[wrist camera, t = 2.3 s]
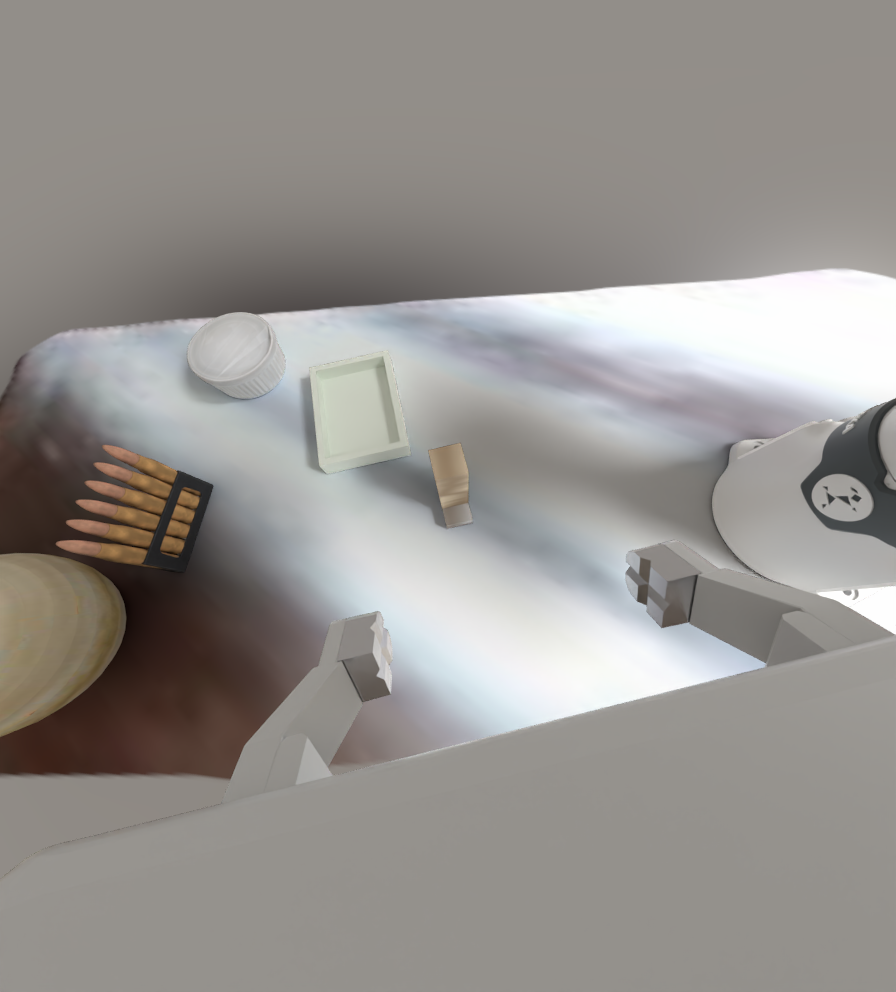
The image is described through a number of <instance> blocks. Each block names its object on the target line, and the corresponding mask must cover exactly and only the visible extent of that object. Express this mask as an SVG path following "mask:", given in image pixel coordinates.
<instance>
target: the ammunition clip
mask: <svg viewBox="0 0 896 992" xmlns="http://www.w3.org/2000/svg"><path fill="white" fill-rule="evenodd" d="M102 447H103V449H104V450H105V451H106V452H108V453H109V454H110V455H112V456H113V457H115V458H116V459H118V460H120V461H122V462H124V463H126V464H128V465H130V466H132V467H134V468H136V469H138V470H139V471H140V472H142V473H144V474H146V475H143V474H139V473H136V472H133V471H130V470H127V469H125V468H122V467H119V466H115V465H111V464H107V463H94V466H95V467H96V468H97V469H99V470H100V471H102V472H103V473H105V474H106V475H108V476H110V477H112V478H114V479H117V480H119V481H122V482H124V483H126V484H128V485H130V486H132V487H133V488H135V489H137V490H140V491H142V492H140V491H136V490H130V489H127V488H123V487H120V486H117V485H113V484H109V483H105V482H99V481H85V484H86V485H87V486H88V487H90V488H91V489H93V490H94V491H96V492H98V493H100V494H103V495H105V496H108V497H111V498H114V499H115V500H118V501H121V502H123V503H125V504H127V505H129V506H131V507H134V508H138V509H141V510H144V511H147V512H144V511H141V510H138V509H134V508H130V507H122V506H118V505H113V504H109V503H106V502H101V501H95V500H76V503H77V504H78V505H79V506H81V507H82V508H84V509H86V510H88V511H90V512H93V513H96V514H99V515H102V516H106V517H108V518H111V519H115V520H117V521H119V522H121V523H124V524H127V525H131V526H135V527H139V528H141V529H137V528H132V527H128V526H124V525H113V524H108V523H102V522H97V521H90V520H68V521H66V523H67V524H68V525H69V526H71V527H72V528H75V529H77V530H79V531H82V532H85V533H88V534H92V535H96V536H100V537H103V538H107V539H110V540H112V541H115V542H119V543H124V544H129V545H133V546H134V547H131V546H125V545H120V544H105V543H96V542H90V541H80V540H67V541H59V542H56V545H57V546H59V547H60V548H62V549H65V550H67V551H70V552H73V553H77V554H81V555H87V556H91V557H96V558H101V559H104V560H107V561H111V562H118V563H125V564H132V565H139V566H145V567H150V568H155V569H160V570H165V571H172V572H185V570H186V567H187V564H188V561H189V558H190V555H191V552H192V549H193V546H194V543H195V540H196V537H197V534H198V531H199V528H200V525H201V522H202V519H203V516H204V513H205V510H206V507H207V504H208V501H209V498H210V495H211V492H212V489H213V485H212V484H210V483H207V482H205V481H203V480H200V479H198V478H195V477H193V476H191V475H188V474H186V473H184V472H181V471H176V470H174V469H172V468H170V467H168V466H166V465H164V464H161V463H159V462H157V461H155V460H153V459H149V458H145V457H143V456H141V455H138V454H135V453H133V452H131V451H128V450H125V449H123V448H119V447H115V446H111V445H102ZM147 475H148V476H147ZM150 476H151V477H150ZM152 477H153V478H152ZM157 479H158V480H157ZM159 480H160V481H159ZM143 492H145V493H143ZM146 493H148V494H146ZM149 494H150V495H149ZM152 495H153V496H152ZM163 499H164V500H163ZM165 500H166V501H165ZM179 505H180V506H179ZM158 515H160V516H158ZM171 519H172V520H171ZM174 520H175V521H174ZM177 521H178V522H177ZM151 531H154V532H155V533H153V532H151ZM165 534H166V535H170V536H172V537H170V536H165ZM145 548H148V550H147V549H145ZM161 551H163V552H167V553H163V552H161Z"/></svg>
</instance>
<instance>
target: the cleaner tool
mask: <svg viewBox="0 0 896 992" xmlns="http://www.w3.org/2000/svg"><path fill="white" fill-rule="evenodd" d="M428 452H429V456H430V460H431V464H432V469H433V473H434V477H435V482H436V486H437V490H438V494H439V498H440V502H441V506H442V510H443V514H444V518H445V523H446V527H447V529H449V528H454V527H458V526H462V525H466V524H471V523H473V518H472V514H471V511H470V507H469V503H468V492H469V472H468V468H467V464H466V461H465V457H464V453H463V450H462V446H461V443H458V444H453V445H449V446H445V447H440V448H436V449H432V450H428Z"/></svg>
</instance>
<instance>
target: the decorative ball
mask: <svg viewBox="0 0 896 992" xmlns="http://www.w3.org/2000/svg"><path fill="white" fill-rule="evenodd" d="M125 628H126V612H125V605H124V601H123V599H122V597H121V595H120V592H119V590H118V589H117V588H116V587H115V585H114V584H113V583H112V582H111V581H110V580H109V579H108V578H107V577H105V576H104V575H103V574H101V573H100V572H98V571H97V570H96V569H94V568H92V567H90V566H88V565H85V564H83V563H80V562H77V561H75V560H72V559H69V558H64V557H59V556H53V555H45V554H30V553H14V554H4V555H0V737H1V736H4V735H6V734H9V733H11V732H13V731H16V730H18V729H21V728H23V727H26V726H28V725H31V724H33V723H35V722H38V721H40V720H42V719H43V718H45V717H47V716H48V715H50V714H52V713H54V712H55V711H57V710H59V709H60V708H62V707H63V706H65V705H66V704H68V703H69V702H71V701H72V700H73V699H75V698H76V697H77V696H79V695H80V694H81V693H82V692H84V691H85V690H86V689H87V688H88V687H89V686H90V685H91V684H92V683H93V682H94V681H95V680H96V679H97V678H98V677H99V676H100V675H101V674H102V673H103V671H104V670H105V669H106V667H107V666H108V665H109V663H110V662H111V661H112V659H113V658H114V656H115V655H116V653H117V651H118V649H119V647H120V645H121V643H122V639H123V636H124V633H125Z"/></svg>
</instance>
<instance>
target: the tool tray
mask: <svg viewBox="0 0 896 992" xmlns="http://www.w3.org/2000/svg"><path fill="white" fill-rule="evenodd" d="M309 371H310V381H311V391H312V400H313V410H314V420H315V430H316V440H317V449H318V459H319V466H320V467H321V468H322V469H323V470H324V471H325V472H326V473H327V474H331V473H335V472H340V471H344V470H348V469H353V468H357V467H361V466H366V465H370V464H374V463H379V462H383V461H387V460H392V459H396V458H400V457H405V456H409V455H411V450H410V446H409V441H408V436H407V431H406V427H405V422H404V417H403V412H402V408H401V403H400V398H399V394H398V389H397V384H396V379H395V375H394V370H393V365H392V361H391V358H390V355H389V351H388V350H386V351H382V352H377V353H373V354H368V355H364V356H360V357H355V358H351V359H346V360H342V361H337V362H333V363H328V364H324V365H319V366H315V367H310V368H309Z"/></svg>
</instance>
